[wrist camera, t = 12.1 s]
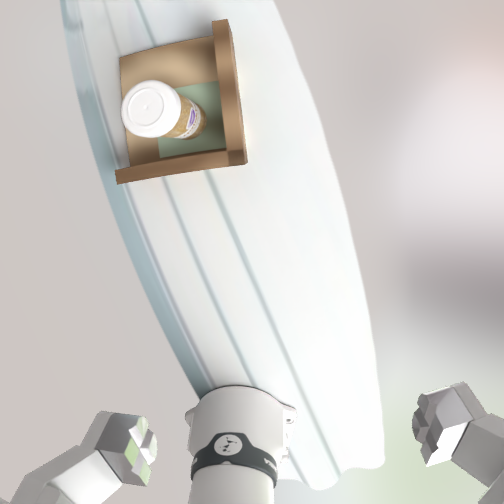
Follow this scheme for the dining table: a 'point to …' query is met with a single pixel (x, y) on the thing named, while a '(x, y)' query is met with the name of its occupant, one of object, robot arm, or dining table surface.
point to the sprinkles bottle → (161, 112)
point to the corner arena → (197, 90)
